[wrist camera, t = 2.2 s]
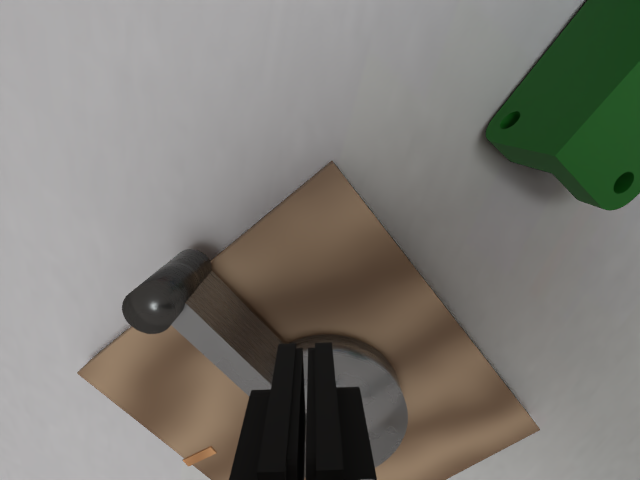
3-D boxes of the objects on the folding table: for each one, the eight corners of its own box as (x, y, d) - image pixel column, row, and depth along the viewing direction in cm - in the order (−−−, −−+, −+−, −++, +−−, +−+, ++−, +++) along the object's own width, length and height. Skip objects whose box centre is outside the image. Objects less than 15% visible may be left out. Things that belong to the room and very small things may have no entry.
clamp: (513, 155, 22) (576, 238, 16) (464, 106, 20) (517, 181, 14) (724, -2, 16) (958, 41, 10) (686, -99, 14) (957, -120, 8)
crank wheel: (428, 406, 22) (461, 486, 17) (316, 472, 24) (315, 562, 19) (244, 198, 17) (212, 222, 12) (124, 299, 19) (55, 356, 14)
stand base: (527, 412, 24) (579, 481, 19) (303, 533, 28) (299, 615, 24) (331, 160, 18) (336, 168, 14) (90, 360, 23) (27, 419, 18)
